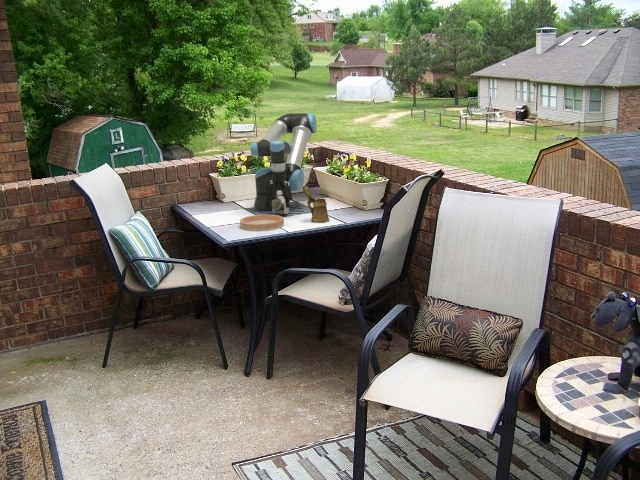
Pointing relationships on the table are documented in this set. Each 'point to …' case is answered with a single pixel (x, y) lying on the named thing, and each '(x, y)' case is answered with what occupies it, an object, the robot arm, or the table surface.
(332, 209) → the table surface
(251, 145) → the robot arm
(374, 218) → the table surface
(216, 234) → the table surface
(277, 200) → the pocket watch
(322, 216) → the wooden mug
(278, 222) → the round dish
